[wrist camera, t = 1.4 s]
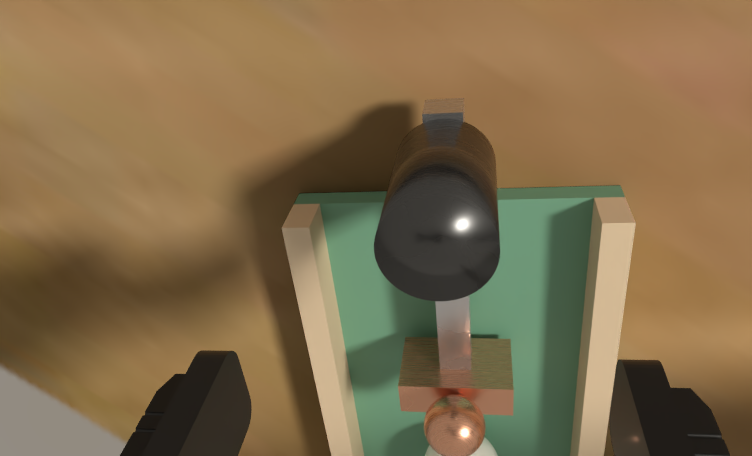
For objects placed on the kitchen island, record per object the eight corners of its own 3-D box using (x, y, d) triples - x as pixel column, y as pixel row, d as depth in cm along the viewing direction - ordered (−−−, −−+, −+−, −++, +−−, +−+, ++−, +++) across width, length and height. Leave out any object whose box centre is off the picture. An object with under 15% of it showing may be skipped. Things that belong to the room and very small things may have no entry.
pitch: (620, 185, 25) (635, 222, 23) (585, 485, 36) (593, 533, 33) (299, 193, 28) (281, 228, 25) (353, 471, 38) (344, 515, 36)
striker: (513, 88, 22) (527, 187, 16) (510, 371, 30) (518, 516, 23) (379, 95, 23) (341, 192, 17) (408, 368, 31) (389, 508, 24)
